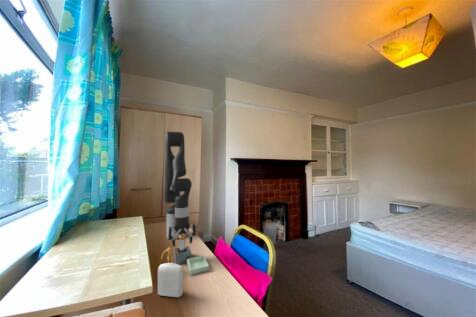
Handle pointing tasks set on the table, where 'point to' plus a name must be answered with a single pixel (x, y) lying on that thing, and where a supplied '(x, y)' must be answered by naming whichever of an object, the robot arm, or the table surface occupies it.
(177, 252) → the figurine
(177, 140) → the robot arm
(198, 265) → the tray
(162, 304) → the table surface
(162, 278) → the photo printer
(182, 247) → the pin
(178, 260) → the socket block
